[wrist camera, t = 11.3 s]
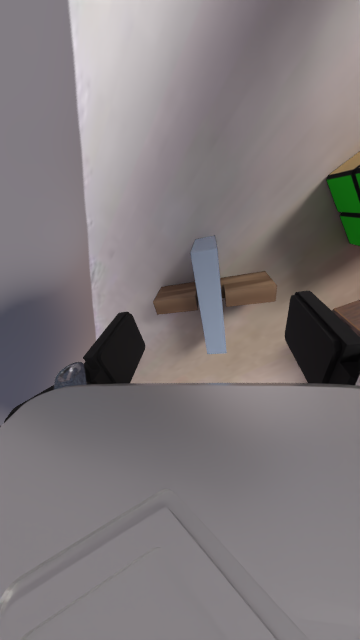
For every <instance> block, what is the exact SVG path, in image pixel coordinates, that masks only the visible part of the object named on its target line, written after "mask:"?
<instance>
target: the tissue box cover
mask: <svg viewBox="0 0 360 640" xmlns="http://www.w3.org/2000/svg"><path fill="white" fill-rule="evenodd" d="M334 313H335V314H336V315H337V316H338V317H339V318H340V319H341V320H342V321H343V322H344V323H345V324H346V325H347V326H348V327H350V328H351V329H352V330H353V331H354V332H355V333H356V334H357V335H358V336H359V337H360V300H358V301H355V302H352V303H349V304H346V305H344V306H341V307H338V308H335V309H334Z"/></svg>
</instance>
